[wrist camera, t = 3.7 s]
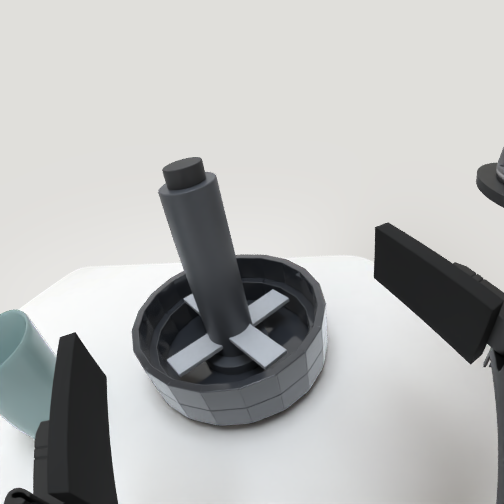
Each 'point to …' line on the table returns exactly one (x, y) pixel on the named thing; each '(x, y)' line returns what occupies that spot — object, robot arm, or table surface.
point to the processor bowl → (248, 383)
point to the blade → (214, 277)
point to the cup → (24, 373)
